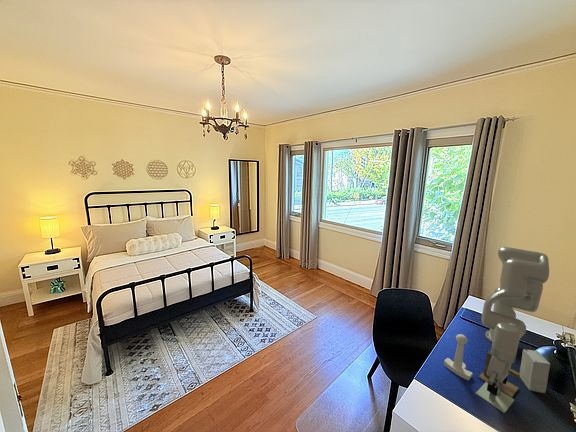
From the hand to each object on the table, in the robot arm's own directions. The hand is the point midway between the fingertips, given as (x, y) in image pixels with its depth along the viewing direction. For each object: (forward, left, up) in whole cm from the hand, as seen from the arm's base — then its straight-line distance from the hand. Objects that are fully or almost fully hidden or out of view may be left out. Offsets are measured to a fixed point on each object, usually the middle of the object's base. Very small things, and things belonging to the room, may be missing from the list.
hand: (496, 387), depth 103 cm
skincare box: (-22, +6, -6) cm, 23 cm away
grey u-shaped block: (0, 0, -5) cm, 5 cm away
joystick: (-3, -15, -6) cm, 16 cm away
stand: (-10, -2, -5) cm, 11 cm away
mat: (0, 0, -5) cm, 5 cm away
